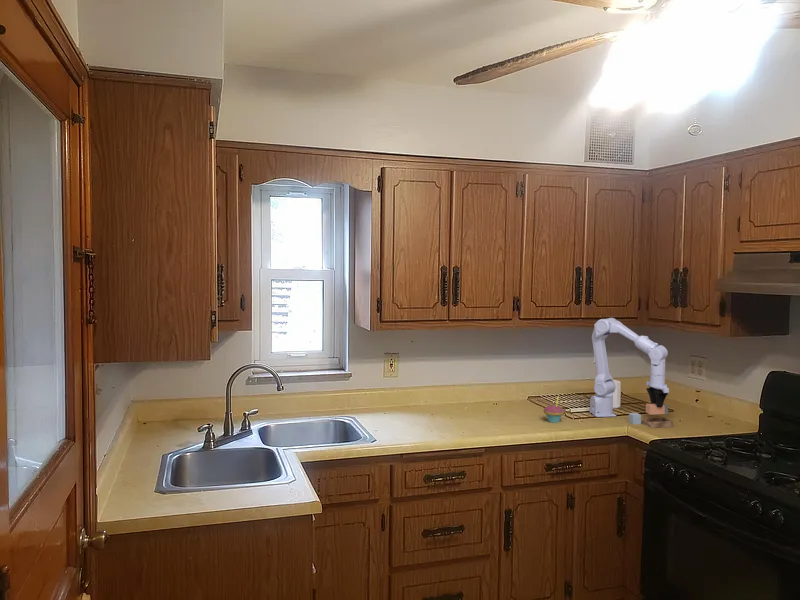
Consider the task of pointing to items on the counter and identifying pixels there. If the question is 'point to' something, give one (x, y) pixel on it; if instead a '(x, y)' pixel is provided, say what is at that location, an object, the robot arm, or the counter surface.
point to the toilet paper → (617, 394)
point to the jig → (657, 422)
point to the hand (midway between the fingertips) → (656, 406)
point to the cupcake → (554, 412)
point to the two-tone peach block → (656, 409)
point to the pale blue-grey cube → (634, 418)
